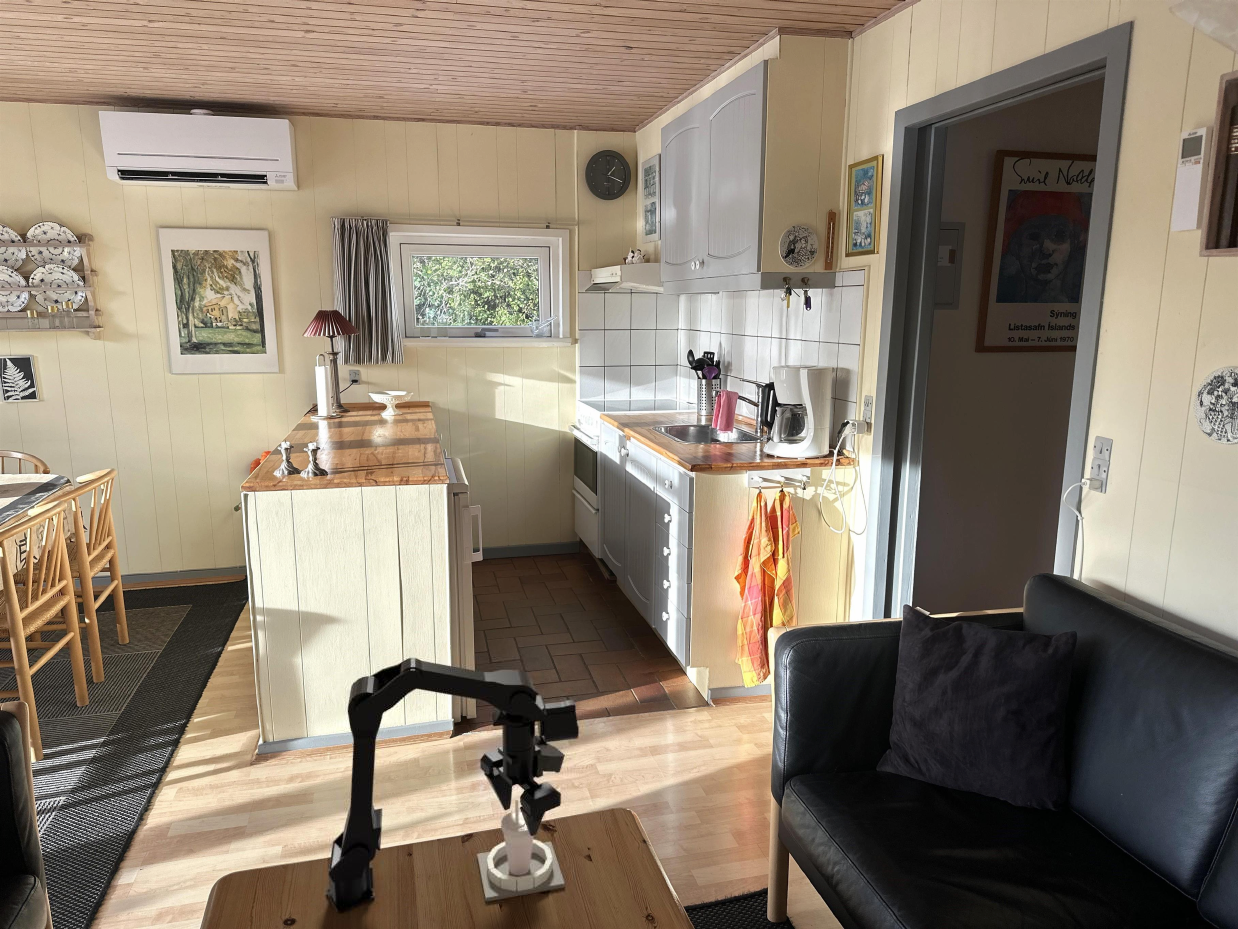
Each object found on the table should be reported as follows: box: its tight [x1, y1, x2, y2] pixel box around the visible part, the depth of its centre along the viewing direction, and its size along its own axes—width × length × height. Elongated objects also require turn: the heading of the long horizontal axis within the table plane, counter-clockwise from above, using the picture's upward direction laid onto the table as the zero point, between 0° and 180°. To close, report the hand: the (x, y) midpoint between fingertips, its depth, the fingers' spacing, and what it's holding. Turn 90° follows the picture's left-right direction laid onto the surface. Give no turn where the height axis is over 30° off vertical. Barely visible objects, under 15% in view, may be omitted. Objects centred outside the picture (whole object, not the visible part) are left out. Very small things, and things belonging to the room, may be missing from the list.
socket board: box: [476, 838, 566, 902], centre depth 156 cm, size 14×12×3 cm
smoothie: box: [500, 799, 535, 875], centre depth 155 cm, size 6×6×14 cm
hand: (519, 821), depth 154 cm, fingers open, 9 cm apart
